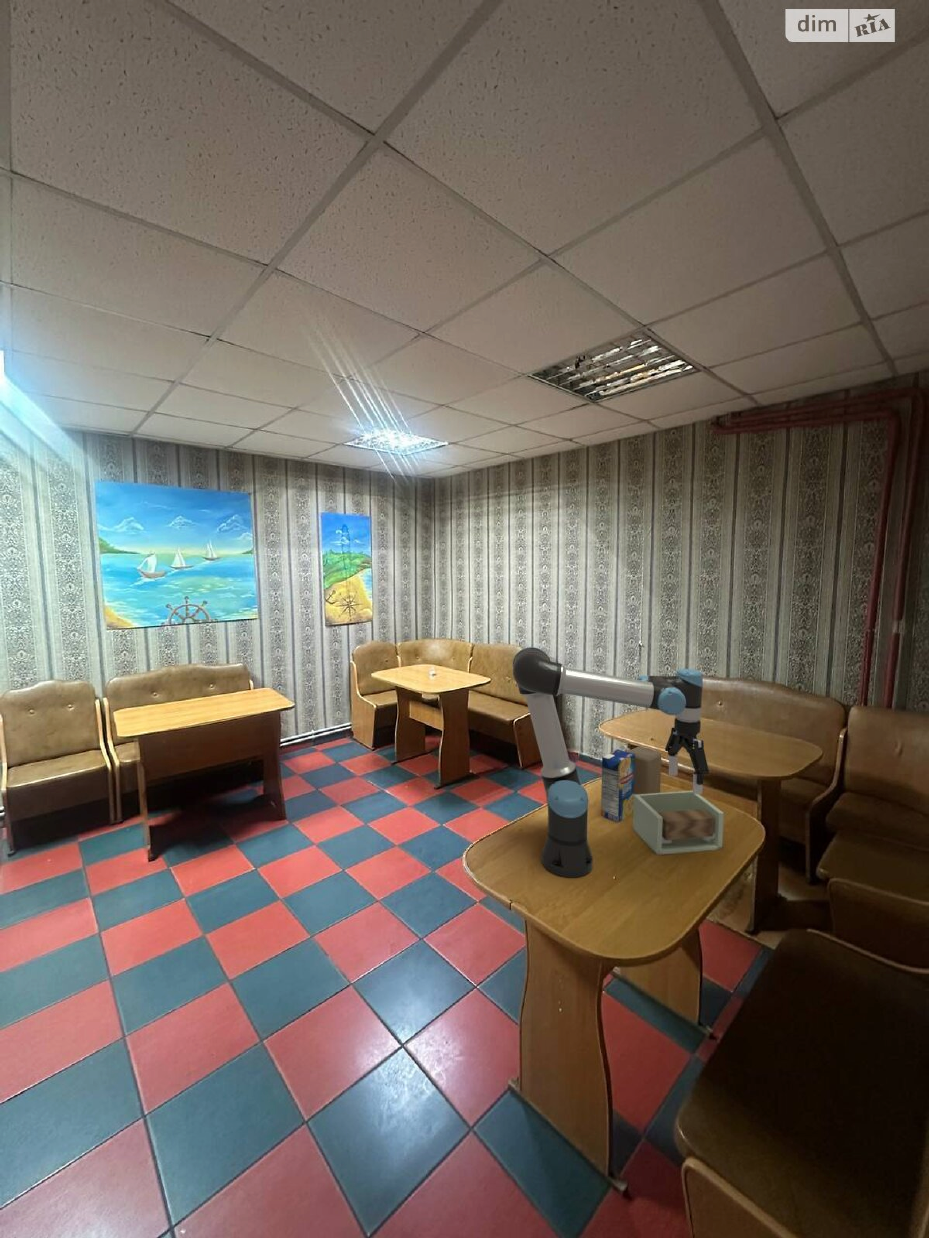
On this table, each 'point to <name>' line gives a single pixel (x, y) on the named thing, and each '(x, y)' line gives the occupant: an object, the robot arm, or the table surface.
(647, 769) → the wooden block
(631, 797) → the beverage box
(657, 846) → the open storage box
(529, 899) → the table surface
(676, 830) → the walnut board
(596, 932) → the table surface
